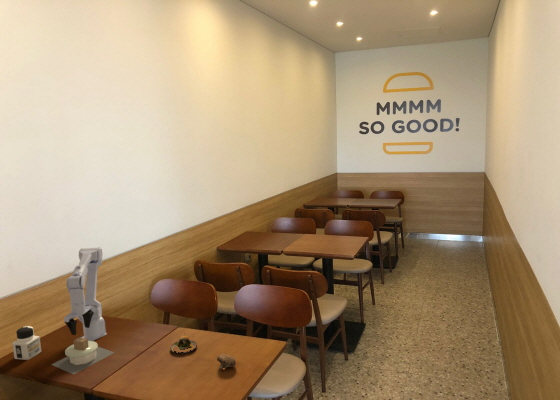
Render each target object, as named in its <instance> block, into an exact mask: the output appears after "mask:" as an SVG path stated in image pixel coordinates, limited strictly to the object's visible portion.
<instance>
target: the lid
mask: <svg viewBox="0 0 560 400" xmlns="http://www.w3.org/2000/svg"><path fill="white" fill-rule="evenodd" d="M72 342H73V344H71V345H69V346H68V347H67V348H65V350H64V353H65V357H72V358H75V357H82V356H86V355H89V354H91V353H93V352H94V351H95V350H96V349H97V348H98V347H99V344H98V343H97V342H96V341H88V339H87V338H81V337H77V338H75V339H73V341H72Z"/></svg>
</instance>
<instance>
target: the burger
mask: <svg viewBox="0 0 560 400" xmlns="http://www.w3.org/2000/svg"><path fill="white" fill-rule="evenodd" d="M191 344H193V345H194V346H195V348H194V349H192V350H191V351H195V349H196V347H197V348H198V344H197V342H196V341H195V340H190V338H189V336H187V335H185V331H184V335H182V336H181V337H179V340H178V341H175V342H174V343H173V344H172V345H170V350H169V351H170V352H173V353H175V352H174V351H173V348H174V347H175V346H176V345H177V346H178V348H179V349H180V350H185V349H188V348H192V346H190V345H191ZM196 350H197V349H196ZM191 351H188V352H183V353H182V354H186V353H189V352H191ZM176 353H177V354H179V353H178V352H176Z"/></svg>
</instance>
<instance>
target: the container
mask: <svg viewBox="0 0 560 400" xmlns="http://www.w3.org/2000/svg"><path fill="white" fill-rule="evenodd" d="M16 339H17V340H15V341H13V342H12V350H13V356H14V357H13V358H14V359H15V360H22V361H23V360H25V361H28V360H31V359H32V358H34V357H35V356H37V355H39V354H40V353H42V346H41V336H40V335H35V333H34V327H33V326H31V325H26V326H22V327H19V328H18V329H17V330H16Z"/></svg>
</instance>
